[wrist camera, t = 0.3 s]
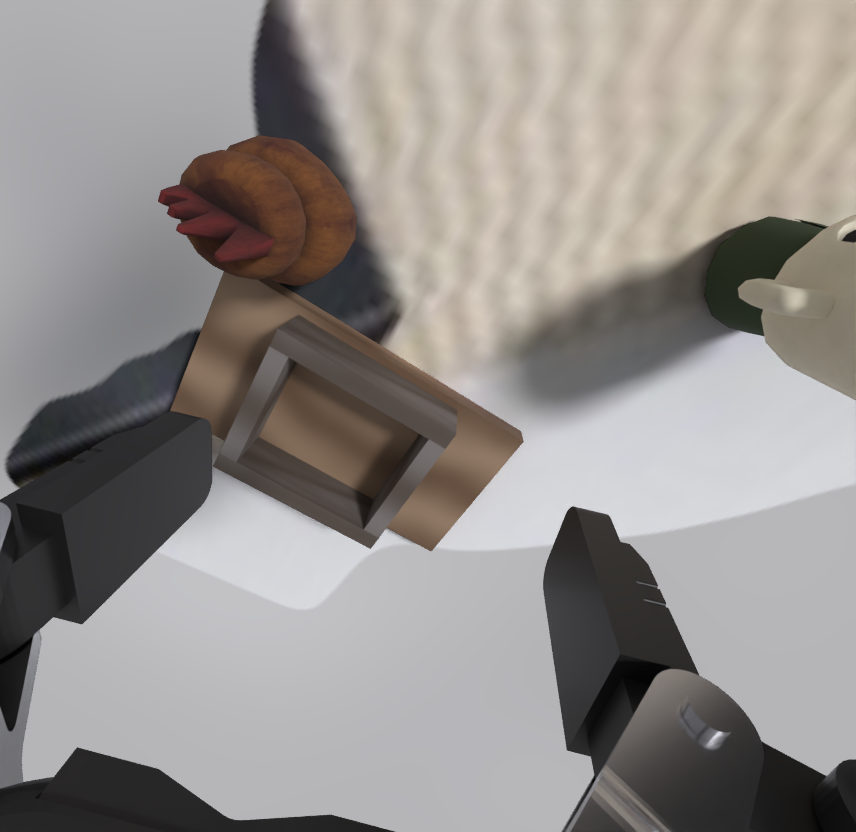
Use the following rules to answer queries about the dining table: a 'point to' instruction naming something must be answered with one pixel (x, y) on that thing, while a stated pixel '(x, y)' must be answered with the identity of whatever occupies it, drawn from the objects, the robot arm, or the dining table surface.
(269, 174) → the wooden figurine
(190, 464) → the robot arm
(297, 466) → the socket stand
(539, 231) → the dining table surface
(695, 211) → the dining table surface
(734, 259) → the character mug
